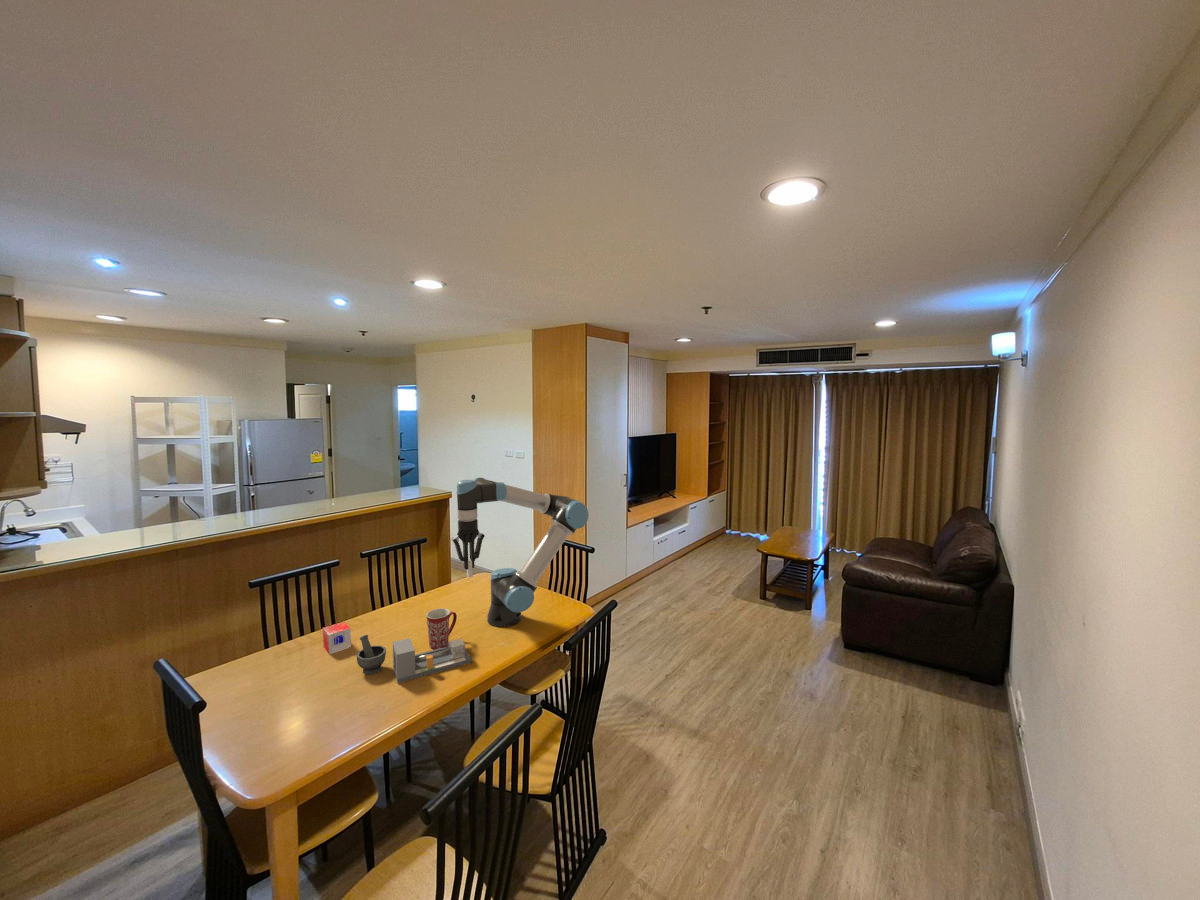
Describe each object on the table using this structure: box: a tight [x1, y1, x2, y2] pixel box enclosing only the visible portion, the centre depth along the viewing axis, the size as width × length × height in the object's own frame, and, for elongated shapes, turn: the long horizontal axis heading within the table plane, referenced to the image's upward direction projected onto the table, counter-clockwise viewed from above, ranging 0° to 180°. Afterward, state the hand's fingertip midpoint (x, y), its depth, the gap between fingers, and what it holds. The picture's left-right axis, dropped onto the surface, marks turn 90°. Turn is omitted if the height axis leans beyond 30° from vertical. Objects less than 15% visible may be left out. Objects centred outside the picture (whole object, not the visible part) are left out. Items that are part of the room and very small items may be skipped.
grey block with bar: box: [415, 638, 466, 662], centre depth 175 cm, size 20×7×5 cm, turn 121°
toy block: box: [322, 621, 352, 655], centre depth 188 cm, size 8×8×8 cm
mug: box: [425, 608, 457, 650], centre depth 191 cm, size 13×9×14 cm
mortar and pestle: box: [356, 634, 387, 676], centre depth 172 cm, size 11×9×12 cm
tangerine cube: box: [426, 655, 433, 669], centre depth 171 cm, size 2×2×4 cm
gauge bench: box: [392, 637, 472, 684], centre depth 175 cm, size 26×10×10 cm, turn 121°
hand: (469, 576), depth 189 cm, fingers closed
